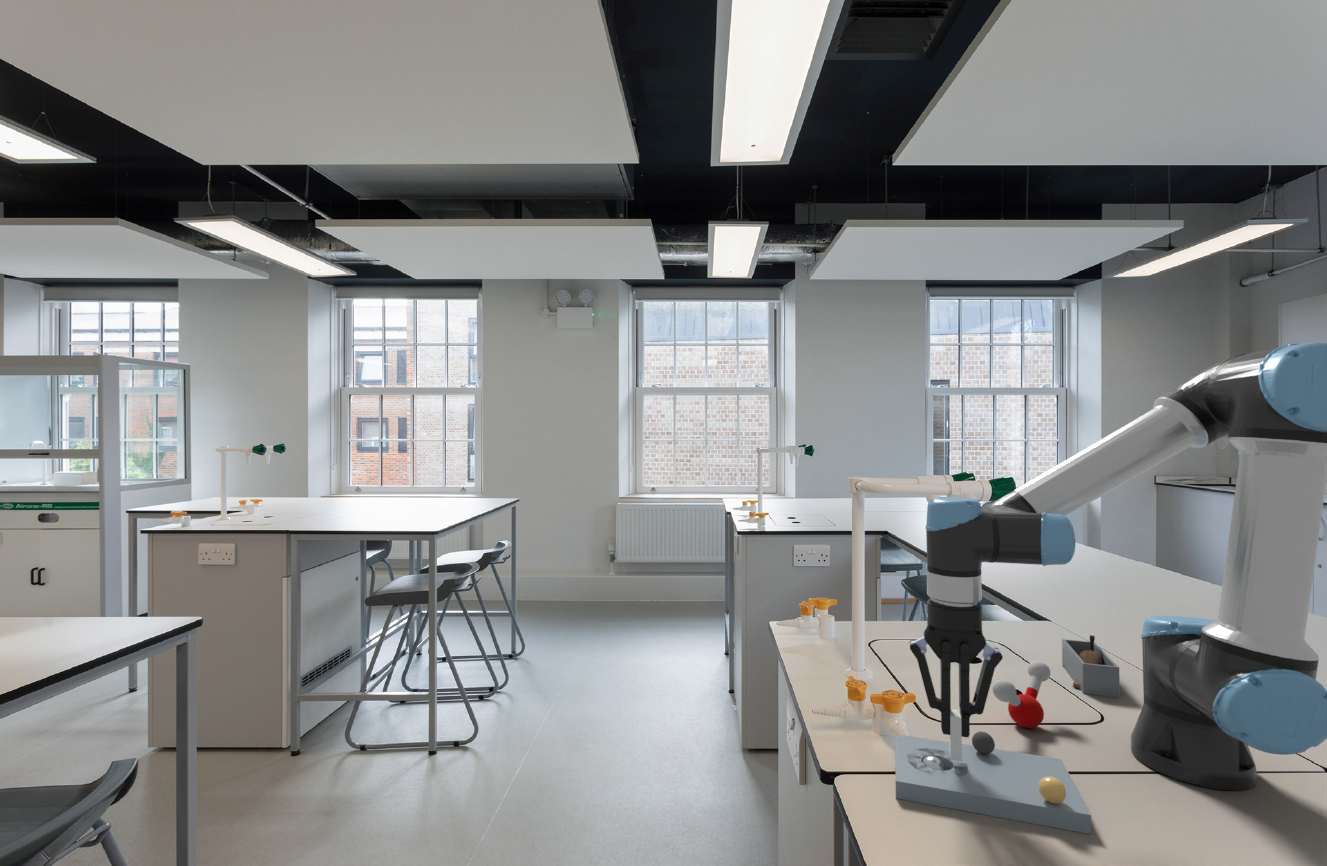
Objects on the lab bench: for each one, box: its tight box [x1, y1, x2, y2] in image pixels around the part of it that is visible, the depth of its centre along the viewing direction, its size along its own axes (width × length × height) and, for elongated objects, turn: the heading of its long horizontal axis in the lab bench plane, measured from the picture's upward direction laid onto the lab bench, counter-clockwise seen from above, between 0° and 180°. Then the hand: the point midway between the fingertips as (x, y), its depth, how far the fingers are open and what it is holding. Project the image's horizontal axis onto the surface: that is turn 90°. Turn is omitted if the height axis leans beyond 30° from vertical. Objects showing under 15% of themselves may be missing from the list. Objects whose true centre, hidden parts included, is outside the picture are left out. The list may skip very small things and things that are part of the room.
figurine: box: [1072, 634, 1102, 689], centre depth 132 cm, size 14×4×9 cm, turn 140°
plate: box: [894, 733, 1092, 835], centre depth 92 cm, size 24×15×2 cm, turn 70°
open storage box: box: [1061, 638, 1121, 699], centre depth 131 cm, size 6×16×6 cm, turn 160°
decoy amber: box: [1039, 777, 1066, 804], centre depth 84 cm, size 3×3×3 cm
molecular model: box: [991, 660, 1051, 729], centre depth 111 cm, size 18×6×10 cm, turn 133°
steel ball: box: [922, 756, 944, 771], centre depth 94 cm, size 3×3×3 cm
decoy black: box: [971, 731, 996, 754], centre depth 97 cm, size 3×3×3 cm
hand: (955, 755), depth 93 cm, fingers closed
